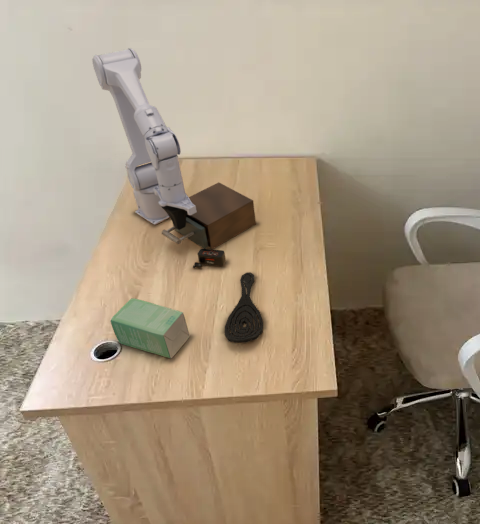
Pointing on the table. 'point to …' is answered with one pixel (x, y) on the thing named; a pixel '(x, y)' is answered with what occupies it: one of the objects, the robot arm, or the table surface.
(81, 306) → the table surface
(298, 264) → the table surface
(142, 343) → the box
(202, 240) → the drawer
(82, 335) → the table surface
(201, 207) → the cabinet
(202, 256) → the wireless earbuds
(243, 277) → the hairbrush
